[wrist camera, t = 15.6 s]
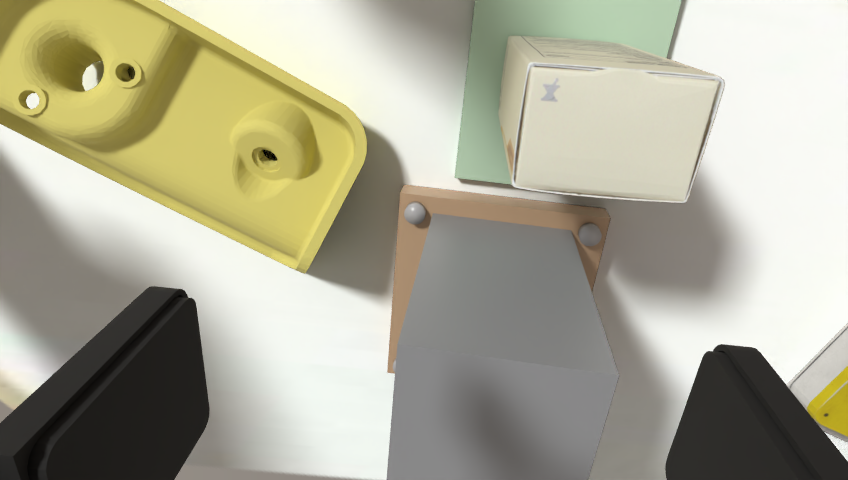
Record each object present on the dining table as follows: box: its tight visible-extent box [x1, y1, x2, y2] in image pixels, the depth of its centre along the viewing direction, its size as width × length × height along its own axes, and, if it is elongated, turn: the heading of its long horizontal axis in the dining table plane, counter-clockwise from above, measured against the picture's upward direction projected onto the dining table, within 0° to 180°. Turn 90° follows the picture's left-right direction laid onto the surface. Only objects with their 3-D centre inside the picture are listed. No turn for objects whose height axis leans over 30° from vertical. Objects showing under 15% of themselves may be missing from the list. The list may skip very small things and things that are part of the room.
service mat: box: [455, 0, 682, 184], centre depth 29 cm, size 10×12×1 cm
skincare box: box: [498, 36, 725, 203], centre depth 23 cm, size 6×4×12 cm
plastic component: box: [0, 0, 367, 273], centre depth 31 cm, size 20×7×10 cm
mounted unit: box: [387, 185, 619, 480], centre depth 28 cm, size 12×13×14 cm
